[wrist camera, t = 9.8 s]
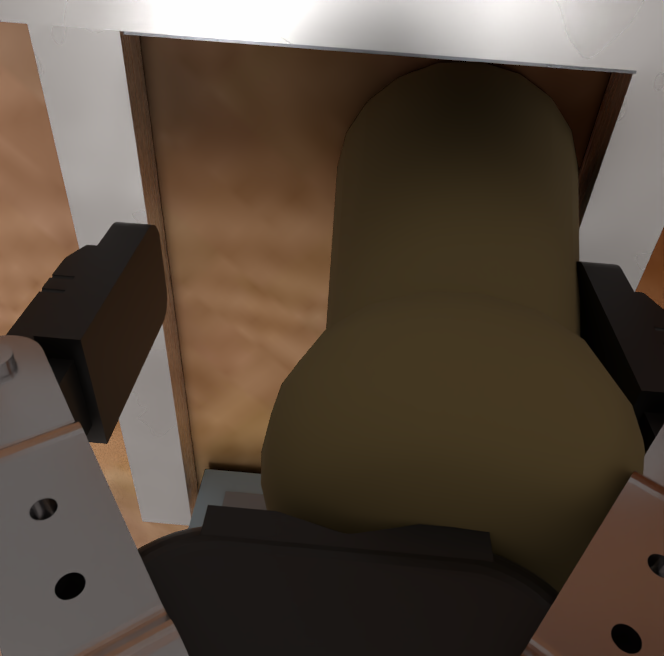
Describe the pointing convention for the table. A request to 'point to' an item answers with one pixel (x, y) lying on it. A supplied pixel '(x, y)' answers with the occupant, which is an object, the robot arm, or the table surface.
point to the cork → (455, 333)
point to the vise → (336, 35)
